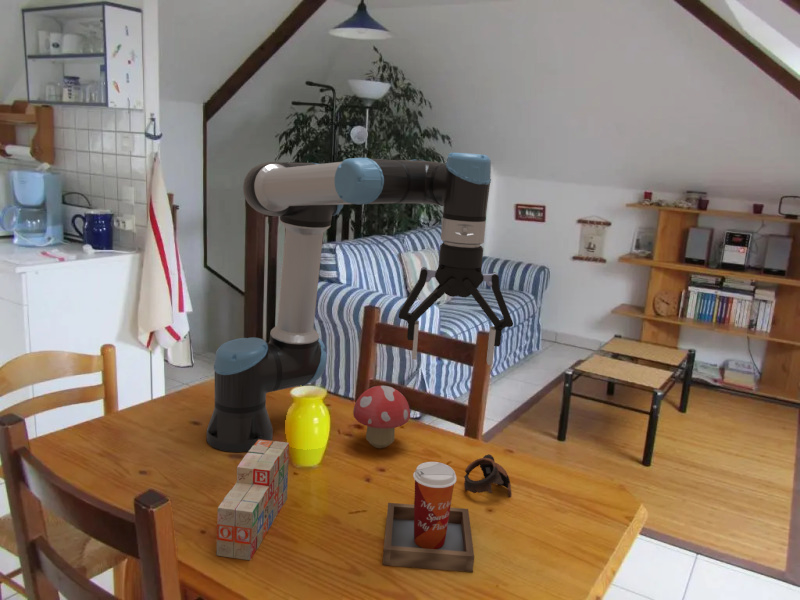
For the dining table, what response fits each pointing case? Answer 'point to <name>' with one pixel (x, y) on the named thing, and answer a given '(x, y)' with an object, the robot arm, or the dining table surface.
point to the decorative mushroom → (381, 414)
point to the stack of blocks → (253, 500)
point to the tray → (409, 554)
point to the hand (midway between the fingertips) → (451, 360)
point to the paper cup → (432, 503)
